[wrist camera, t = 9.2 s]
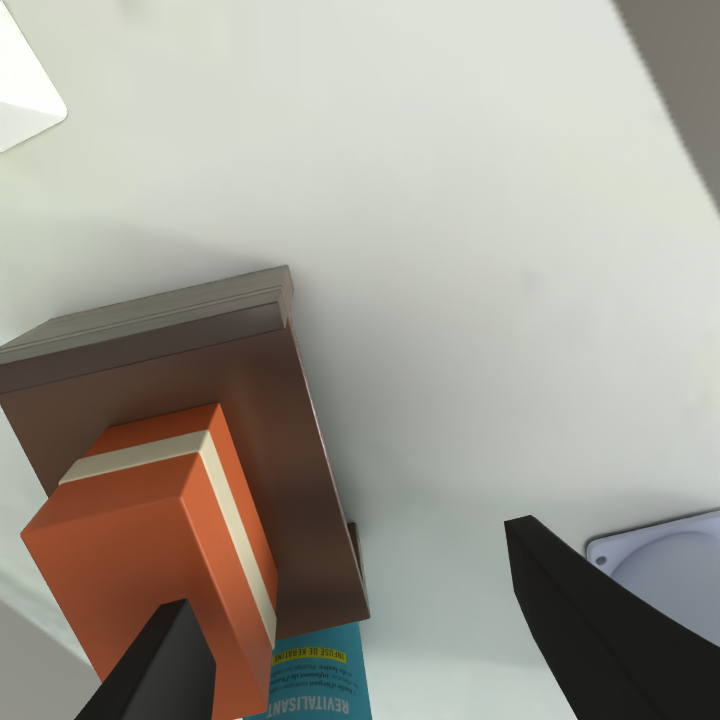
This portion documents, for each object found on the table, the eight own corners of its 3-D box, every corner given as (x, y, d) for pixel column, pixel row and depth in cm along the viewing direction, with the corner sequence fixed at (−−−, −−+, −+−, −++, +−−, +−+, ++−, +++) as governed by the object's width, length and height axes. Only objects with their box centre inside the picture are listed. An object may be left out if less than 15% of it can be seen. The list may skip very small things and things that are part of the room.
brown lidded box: (360, 539, 23) (375, 654, 18) (169, 584, 23) (124, 714, 18) (288, 264, 19) (278, 300, 13) (50, 318, 19) (-61, 378, 13)
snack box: (280, 575, 18) (270, 713, 13) (179, 599, 18) (133, 746, 13) (220, 399, 16) (181, 493, 11) (103, 426, 16) (13, 533, 11)
